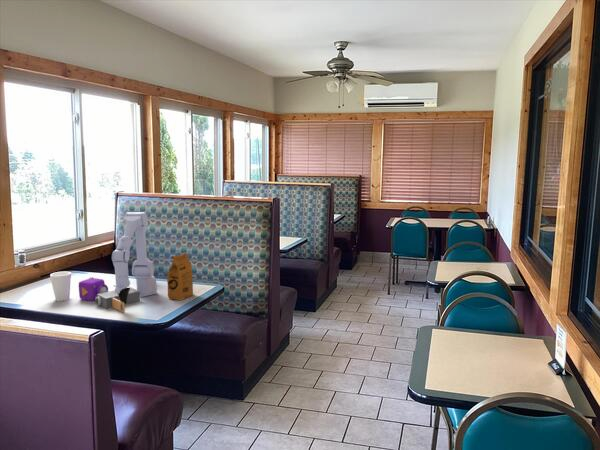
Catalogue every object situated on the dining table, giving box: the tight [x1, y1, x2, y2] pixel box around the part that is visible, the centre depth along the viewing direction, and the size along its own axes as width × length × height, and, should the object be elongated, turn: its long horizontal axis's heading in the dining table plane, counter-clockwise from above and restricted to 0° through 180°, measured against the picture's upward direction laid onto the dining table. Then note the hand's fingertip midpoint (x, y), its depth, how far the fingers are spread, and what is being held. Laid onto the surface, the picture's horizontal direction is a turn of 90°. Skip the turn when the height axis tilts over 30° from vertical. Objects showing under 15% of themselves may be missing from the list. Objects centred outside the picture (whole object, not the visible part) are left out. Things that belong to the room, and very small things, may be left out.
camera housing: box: [94, 286, 141, 310], centre depth 249 cm, size 19×10×6 cm, turn 134°
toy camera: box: [78, 276, 109, 302], centre depth 256 cm, size 11×14×10 cm
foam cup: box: [49, 271, 72, 302], centre depth 255 cm, size 10×9×13 cm
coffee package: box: [166, 252, 194, 301], centre depth 257 cm, size 10×12×22 cm
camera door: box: [112, 298, 126, 313], centre depth 238 cm, size 11×1×4 cm, turn 45°
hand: (123, 303), depth 237 cm, fingers closed, pressing on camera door
